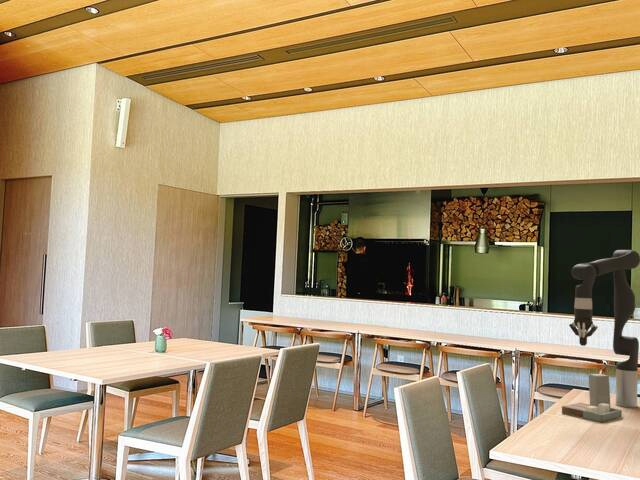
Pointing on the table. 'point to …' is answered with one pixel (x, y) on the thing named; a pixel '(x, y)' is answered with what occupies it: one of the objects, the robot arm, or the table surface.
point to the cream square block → (592, 409)
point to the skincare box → (599, 389)
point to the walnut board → (575, 409)
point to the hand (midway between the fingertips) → (583, 345)
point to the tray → (603, 415)
